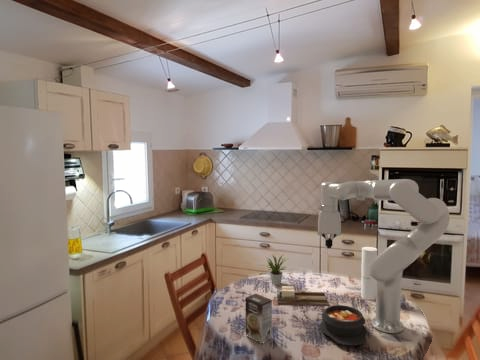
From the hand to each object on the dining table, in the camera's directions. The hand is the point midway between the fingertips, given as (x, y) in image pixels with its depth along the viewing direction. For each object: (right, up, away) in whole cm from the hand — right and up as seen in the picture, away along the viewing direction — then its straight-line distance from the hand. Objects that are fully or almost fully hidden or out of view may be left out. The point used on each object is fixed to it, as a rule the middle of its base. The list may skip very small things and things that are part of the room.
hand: (328, 247), depth 163 cm
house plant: (-20, -27, +33) cm, 47 cm away
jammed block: (-17, -27, +12) cm, 35 cm away
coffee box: (-34, -32, -22) cm, 52 cm away
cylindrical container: (+23, -28, +14) cm, 39 cm away
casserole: (+1, -31, -20) cm, 37 cm away
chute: (-11, -28, +12) cm, 32 cm away
